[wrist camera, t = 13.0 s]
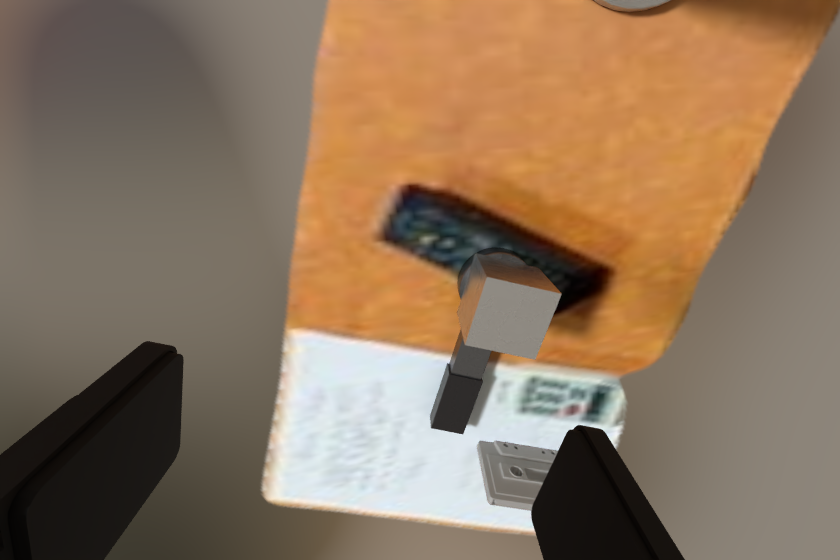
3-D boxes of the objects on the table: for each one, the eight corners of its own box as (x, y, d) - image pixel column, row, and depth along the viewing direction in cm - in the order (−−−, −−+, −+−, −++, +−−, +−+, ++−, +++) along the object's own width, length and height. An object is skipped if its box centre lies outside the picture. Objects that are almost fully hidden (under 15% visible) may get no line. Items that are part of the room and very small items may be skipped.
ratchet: (475, 424, 45) (483, 464, 40) (415, 412, 44) (415, 451, 39) (539, 257, 38) (560, 278, 33) (469, 239, 37) (479, 258, 32)
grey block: (475, 252, 35) (486, 276, 30) (538, 267, 36) (561, 293, 30) (456, 312, 37) (464, 344, 32) (517, 325, 38) (535, 359, 32)
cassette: (474, 449, 46) (486, 508, 39) (479, 436, 46) (491, 494, 39) (571, 464, 48) (599, 524, 40) (577, 452, 47) (606, 511, 40)
